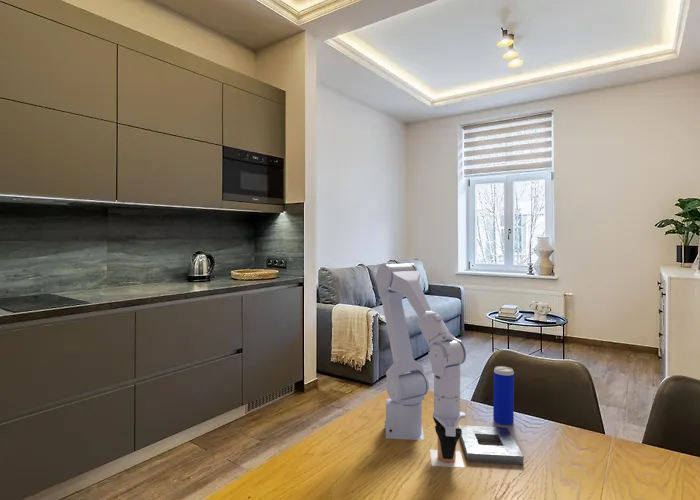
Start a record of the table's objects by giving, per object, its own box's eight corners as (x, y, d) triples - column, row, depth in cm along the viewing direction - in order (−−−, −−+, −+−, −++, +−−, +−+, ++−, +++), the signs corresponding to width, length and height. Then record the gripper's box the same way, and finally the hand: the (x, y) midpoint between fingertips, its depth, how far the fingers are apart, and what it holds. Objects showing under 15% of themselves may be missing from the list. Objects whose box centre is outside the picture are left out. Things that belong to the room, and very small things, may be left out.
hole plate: (467, 464, 94) (467, 452, 94) (458, 434, 108) (458, 424, 108) (523, 467, 93) (523, 455, 92) (507, 437, 106) (507, 427, 106)
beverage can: (510, 419, 117) (511, 366, 116) (515, 428, 111) (516, 372, 111) (491, 418, 117) (491, 365, 117) (495, 427, 112) (496, 371, 111)
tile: (432, 468, 92) (432, 465, 92) (429, 451, 99) (429, 449, 99) (464, 470, 92) (464, 467, 92) (460, 453, 99) (460, 451, 98)
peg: (438, 462, 94) (438, 435, 93) (436, 453, 98) (436, 427, 97) (456, 463, 93) (456, 436, 93) (454, 454, 97) (454, 428, 97)
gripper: (470, 407, 87) (470, 471, 88) (460, 383, 102) (459, 438, 102) (436, 406, 88) (435, 469, 89) (430, 382, 102) (430, 436, 103)
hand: (446, 452), depth 95 cm, fingers closed on peg, 4 cm apart
